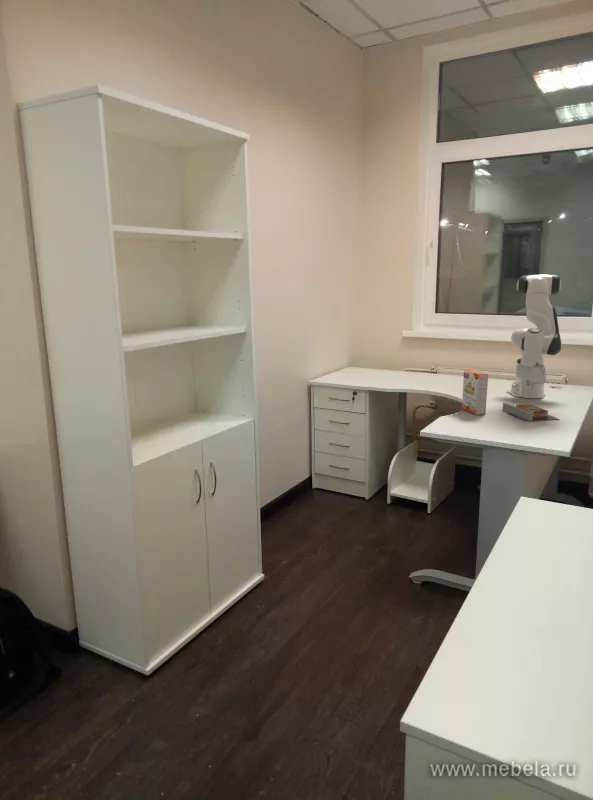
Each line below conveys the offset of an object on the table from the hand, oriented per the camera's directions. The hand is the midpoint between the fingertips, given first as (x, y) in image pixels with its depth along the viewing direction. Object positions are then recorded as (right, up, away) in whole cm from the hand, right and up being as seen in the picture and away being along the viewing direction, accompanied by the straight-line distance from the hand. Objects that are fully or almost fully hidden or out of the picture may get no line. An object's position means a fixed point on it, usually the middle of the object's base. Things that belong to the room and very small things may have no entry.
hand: (529, 389), depth 283 cm
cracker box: (-25, -12, +8) cm, 29 cm away
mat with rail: (0, -13, +1) cm, 13 cm away
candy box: (0, -9, +7) cm, 11 cm away
